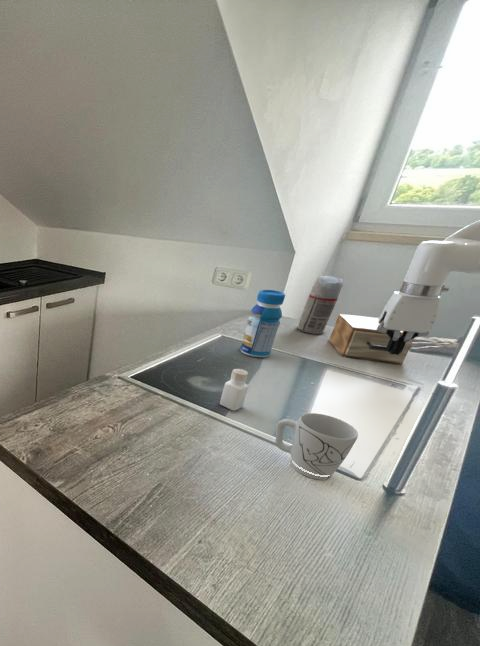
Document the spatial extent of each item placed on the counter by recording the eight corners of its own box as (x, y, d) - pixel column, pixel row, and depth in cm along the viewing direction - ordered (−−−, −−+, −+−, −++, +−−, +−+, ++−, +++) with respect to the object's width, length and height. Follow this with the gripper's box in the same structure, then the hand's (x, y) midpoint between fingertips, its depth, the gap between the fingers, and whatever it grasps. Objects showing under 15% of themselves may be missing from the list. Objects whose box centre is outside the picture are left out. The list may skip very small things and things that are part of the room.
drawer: (409, 368, 112) (421, 343, 108) (351, 360, 117) (361, 336, 114) (384, 346, 126) (394, 324, 123) (334, 340, 132) (342, 318, 128)
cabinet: (402, 364, 117) (416, 334, 113) (341, 355, 122) (353, 327, 118) (383, 347, 129) (395, 319, 125) (329, 340, 134) (339, 313, 130)
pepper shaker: (243, 407, 95) (253, 372, 91) (233, 412, 93) (244, 376, 89) (227, 400, 98) (236, 366, 94) (218, 404, 96) (227, 370, 92)
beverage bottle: (263, 360, 119) (283, 297, 111) (234, 352, 125) (251, 291, 117) (274, 353, 124) (293, 292, 116) (245, 345, 130) (262, 287, 122)
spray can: (323, 329, 144) (343, 276, 135) (325, 336, 138) (346, 280, 129) (295, 325, 148) (313, 273, 140) (296, 332, 142) (315, 277, 133)
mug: (259, 458, 77) (274, 416, 73) (276, 442, 82) (291, 402, 78) (329, 491, 69) (350, 445, 65) (344, 471, 74) (364, 427, 69)
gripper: (450, 288, 103) (420, 351, 111) (378, 284, 109) (355, 344, 117) (466, 295, 97) (434, 362, 105) (389, 290, 103) (364, 353, 110)
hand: (392, 352), depth 111 cm, fingers closed
